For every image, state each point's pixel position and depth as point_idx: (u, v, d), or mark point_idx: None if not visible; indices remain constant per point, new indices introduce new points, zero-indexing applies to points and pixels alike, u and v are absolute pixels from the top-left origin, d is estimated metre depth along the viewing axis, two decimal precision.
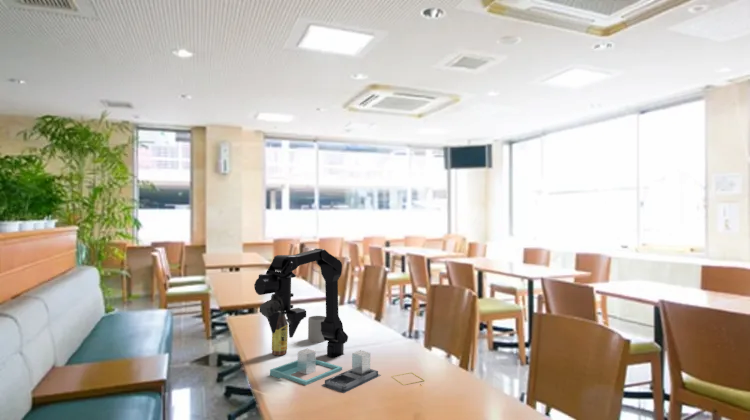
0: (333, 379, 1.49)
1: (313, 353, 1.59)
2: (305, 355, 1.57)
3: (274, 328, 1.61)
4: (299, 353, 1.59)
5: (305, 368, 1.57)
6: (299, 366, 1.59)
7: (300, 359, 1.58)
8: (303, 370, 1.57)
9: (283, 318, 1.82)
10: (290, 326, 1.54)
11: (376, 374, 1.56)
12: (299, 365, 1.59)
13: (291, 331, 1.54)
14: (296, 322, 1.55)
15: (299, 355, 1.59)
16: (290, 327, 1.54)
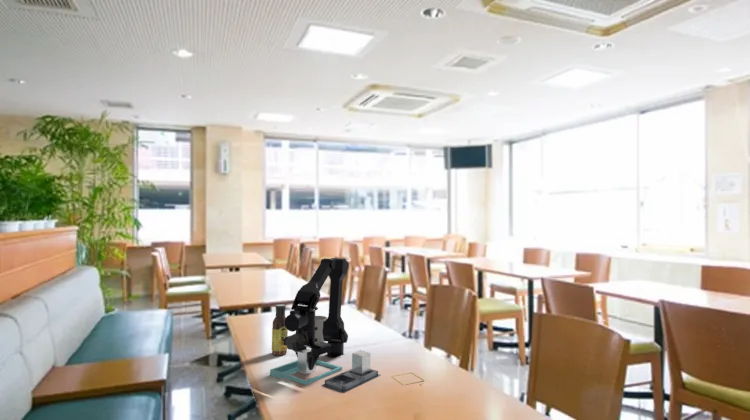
0: (333, 379, 1.49)
1: None
2: (305, 355, 1.57)
3: None
4: (299, 353, 1.59)
5: (305, 368, 1.57)
6: (299, 366, 1.59)
7: (300, 359, 1.58)
8: (303, 370, 1.57)
9: (283, 318, 1.82)
10: (311, 359, 1.56)
11: (376, 374, 1.56)
12: (299, 365, 1.59)
13: (311, 364, 1.57)
14: (316, 355, 1.58)
15: (299, 355, 1.59)
16: (311, 360, 1.57)
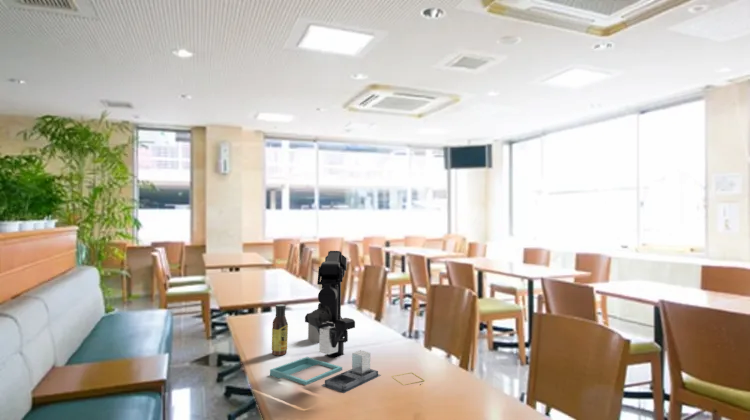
0: (333, 379, 1.49)
1: None
2: (328, 332, 1.49)
3: None
4: (321, 330, 1.51)
5: (328, 345, 1.49)
6: (321, 344, 1.51)
7: (322, 336, 1.51)
8: (325, 348, 1.50)
9: (283, 318, 1.82)
10: (334, 336, 1.49)
11: (376, 374, 1.56)
12: (321, 342, 1.51)
13: (334, 341, 1.49)
14: (339, 331, 1.50)
15: (321, 332, 1.51)
16: (334, 337, 1.49)
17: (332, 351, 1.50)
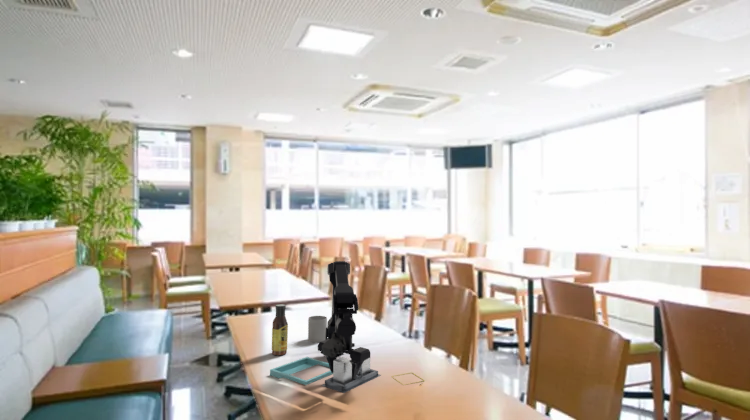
0: None
1: (350, 362, 1.48)
2: (342, 364, 1.45)
3: None
4: (335, 362, 1.47)
5: (342, 378, 1.45)
6: (335, 376, 1.47)
7: (336, 368, 1.47)
8: (340, 381, 1.46)
9: (283, 318, 1.82)
10: (353, 367, 1.44)
11: (376, 374, 1.56)
12: (335, 375, 1.47)
13: (354, 372, 1.44)
14: (359, 363, 1.45)
15: (335, 364, 1.47)
16: (353, 368, 1.44)
17: None
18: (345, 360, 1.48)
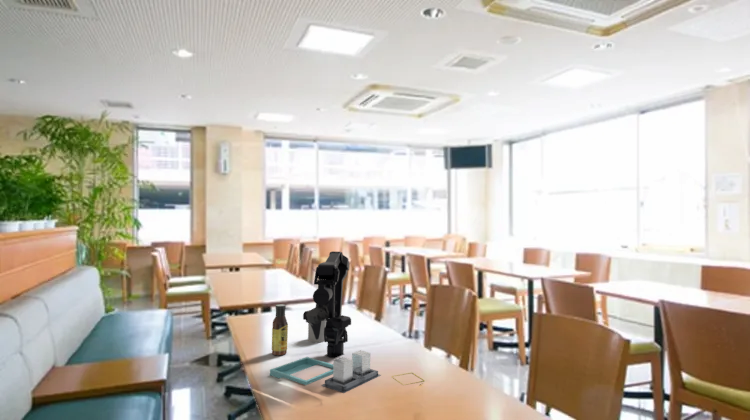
0: None
1: (350, 362, 1.48)
2: (342, 364, 1.45)
3: (317, 335, 1.64)
4: (335, 362, 1.47)
5: (342, 378, 1.45)
6: (335, 376, 1.47)
7: (336, 368, 1.47)
8: (340, 381, 1.46)
9: (283, 318, 1.82)
10: (336, 333, 1.57)
11: (376, 374, 1.56)
12: (335, 375, 1.47)
13: (336, 338, 1.58)
14: (341, 329, 1.58)
15: (335, 364, 1.47)
16: (336, 334, 1.57)
17: None
18: (345, 360, 1.48)
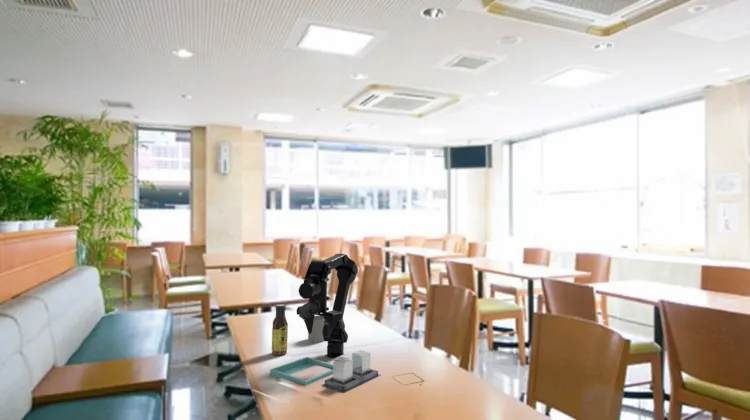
0: None
1: (350, 362, 1.48)
2: (342, 364, 1.45)
3: (310, 329, 1.70)
4: (335, 362, 1.47)
5: (342, 378, 1.45)
6: (335, 376, 1.47)
7: (336, 368, 1.47)
8: (340, 381, 1.46)
9: (283, 318, 1.82)
10: (327, 327, 1.63)
11: (376, 374, 1.56)
12: (335, 375, 1.47)
13: (328, 332, 1.63)
14: (332, 324, 1.64)
15: (335, 364, 1.47)
16: (327, 328, 1.63)
17: None
18: (345, 360, 1.48)
